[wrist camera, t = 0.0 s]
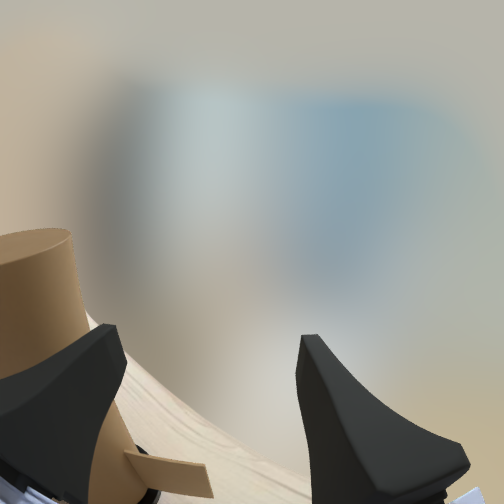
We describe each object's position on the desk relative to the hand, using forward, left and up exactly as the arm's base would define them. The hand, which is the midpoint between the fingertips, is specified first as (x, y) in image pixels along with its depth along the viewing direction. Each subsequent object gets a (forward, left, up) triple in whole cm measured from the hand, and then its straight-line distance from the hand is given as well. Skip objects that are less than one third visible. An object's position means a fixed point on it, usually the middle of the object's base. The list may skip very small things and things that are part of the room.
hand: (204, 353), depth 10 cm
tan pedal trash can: (+2, +10, -20) cm, 23 cm away
